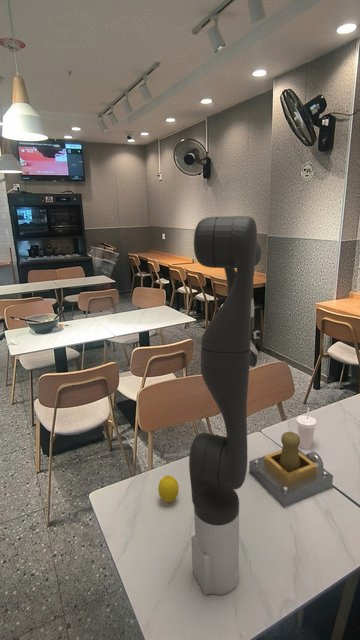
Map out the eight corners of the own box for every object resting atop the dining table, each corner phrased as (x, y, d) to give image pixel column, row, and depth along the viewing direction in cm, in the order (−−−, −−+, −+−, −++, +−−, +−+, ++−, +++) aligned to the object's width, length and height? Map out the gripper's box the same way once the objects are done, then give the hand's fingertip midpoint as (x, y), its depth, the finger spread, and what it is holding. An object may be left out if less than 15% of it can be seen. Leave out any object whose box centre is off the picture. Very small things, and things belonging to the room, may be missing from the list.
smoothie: (319, 448, 122) (321, 410, 119) (303, 453, 120) (305, 414, 116) (306, 438, 128) (308, 402, 124) (291, 443, 126) (292, 406, 122)
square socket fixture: (284, 507, 97) (284, 486, 96) (249, 472, 112) (249, 453, 110) (336, 485, 105) (337, 466, 103) (297, 455, 119) (298, 437, 117)
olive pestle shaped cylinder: (301, 475, 103) (303, 441, 100) (279, 473, 104) (280, 439, 102) (299, 462, 109) (300, 429, 106) (278, 460, 110) (279, 428, 107)
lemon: (166, 491, 105) (164, 467, 103) (182, 498, 102) (181, 473, 100) (155, 504, 100) (153, 479, 98) (172, 511, 98) (170, 485, 96)
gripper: (225, 320, 95) (225, 378, 99) (269, 313, 101) (268, 368, 105) (211, 314, 102) (212, 369, 106) (253, 308, 107) (253, 360, 112)
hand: (240, 368), depth 105 cm, fingers open, 8 cm apart
